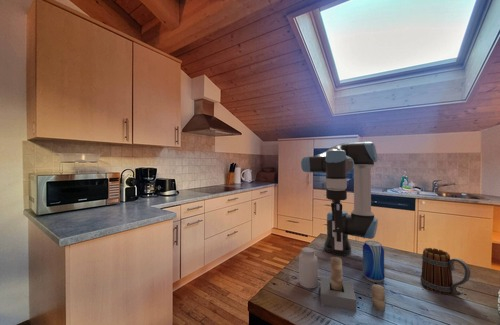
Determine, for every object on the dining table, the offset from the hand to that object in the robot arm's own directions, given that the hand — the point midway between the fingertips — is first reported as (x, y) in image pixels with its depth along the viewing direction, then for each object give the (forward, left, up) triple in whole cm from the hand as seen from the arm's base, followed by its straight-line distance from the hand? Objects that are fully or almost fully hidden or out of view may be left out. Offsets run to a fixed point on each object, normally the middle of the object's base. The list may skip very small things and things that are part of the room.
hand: (337, 242), depth 83 cm
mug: (-17, +41, -21) cm, 50 cm away
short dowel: (+2, +13, -21) cm, 25 cm away
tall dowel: (+1, -1, -21) cm, 21 cm away
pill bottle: (-5, -12, -21) cm, 25 cm away
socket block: (+1, -1, -21) cm, 21 cm away
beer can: (-19, +16, -21) cm, 33 cm away
